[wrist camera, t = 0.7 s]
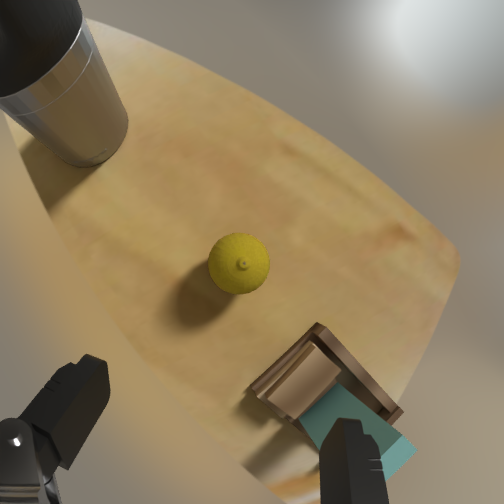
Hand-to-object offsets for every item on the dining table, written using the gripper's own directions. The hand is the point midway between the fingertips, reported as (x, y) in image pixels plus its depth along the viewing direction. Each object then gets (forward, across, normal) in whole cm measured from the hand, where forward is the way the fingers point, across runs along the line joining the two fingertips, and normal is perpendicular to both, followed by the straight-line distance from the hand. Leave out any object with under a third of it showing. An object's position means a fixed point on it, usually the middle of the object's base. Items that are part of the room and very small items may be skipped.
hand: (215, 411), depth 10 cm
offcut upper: (+18, -7, +14) cm, 24 cm away
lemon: (+23, +2, +5) cm, 24 cm away
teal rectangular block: (+18, -11, +18) cm, 28 cm away
